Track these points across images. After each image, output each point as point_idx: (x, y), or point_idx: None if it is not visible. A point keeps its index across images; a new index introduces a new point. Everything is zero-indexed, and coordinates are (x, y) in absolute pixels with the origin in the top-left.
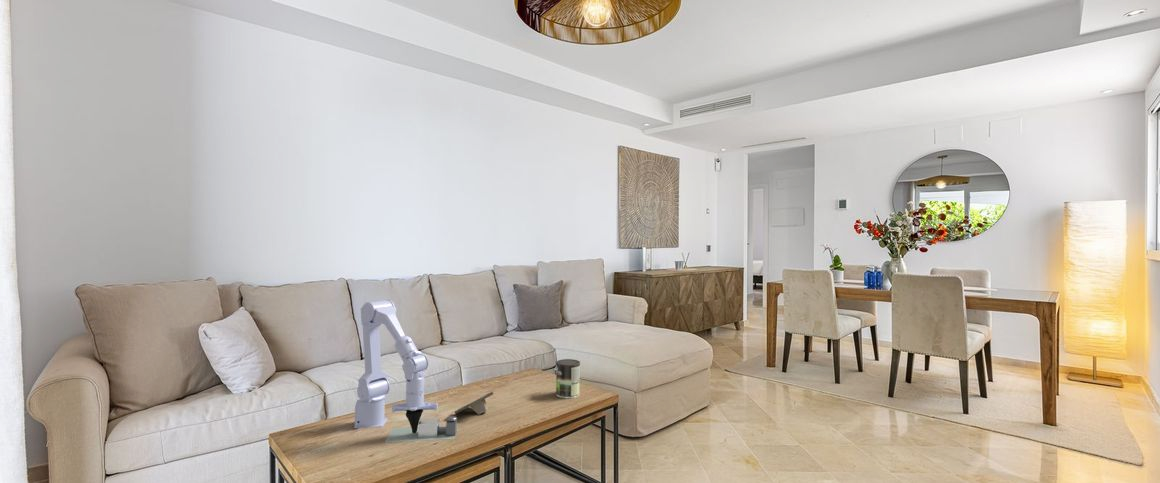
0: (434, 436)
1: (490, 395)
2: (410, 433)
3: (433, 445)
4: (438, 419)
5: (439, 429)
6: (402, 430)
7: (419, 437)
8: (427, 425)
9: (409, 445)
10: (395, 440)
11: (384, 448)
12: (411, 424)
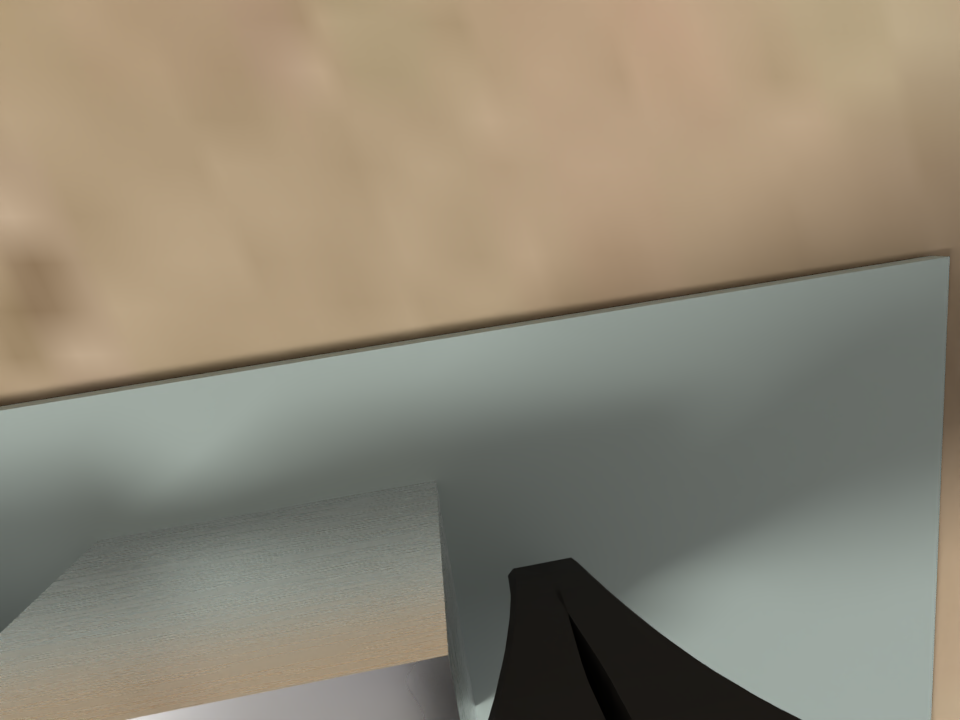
0: (145, 535)
1: None
2: None
3: (26, 196)
4: None
5: None
6: None
7: (417, 485)
8: (193, 664)
9: (497, 193)
10: (791, 346)
11: (890, 60)
12: (654, 650)
